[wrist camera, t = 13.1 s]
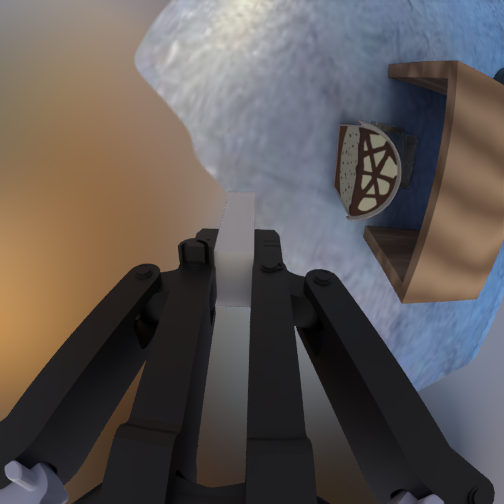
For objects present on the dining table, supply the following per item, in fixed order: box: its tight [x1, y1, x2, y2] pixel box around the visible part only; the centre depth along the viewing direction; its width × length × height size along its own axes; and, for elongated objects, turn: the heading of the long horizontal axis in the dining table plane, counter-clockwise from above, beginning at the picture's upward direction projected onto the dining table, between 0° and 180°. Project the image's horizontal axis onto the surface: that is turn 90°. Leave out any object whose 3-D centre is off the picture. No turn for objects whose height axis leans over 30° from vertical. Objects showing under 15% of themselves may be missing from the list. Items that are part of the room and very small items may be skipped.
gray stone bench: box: [371, 121, 418, 189], centre depth 37 cm, size 10×6×3 cm
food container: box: [333, 120, 401, 221], centre depth 34 cm, size 12×6×10 cm, turn 179°
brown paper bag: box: [364, 61, 504, 304], centre depth 31 cm, size 28×14×16 cm, turn 178°
